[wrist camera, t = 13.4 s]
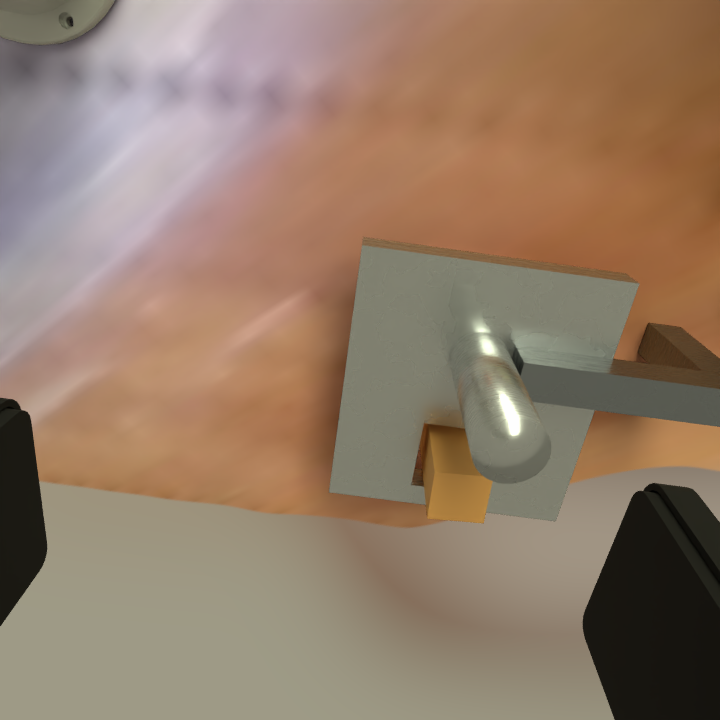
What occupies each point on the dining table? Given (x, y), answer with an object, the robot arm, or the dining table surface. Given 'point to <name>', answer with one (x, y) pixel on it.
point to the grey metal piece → (467, 369)
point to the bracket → (630, 379)
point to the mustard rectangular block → (451, 476)
